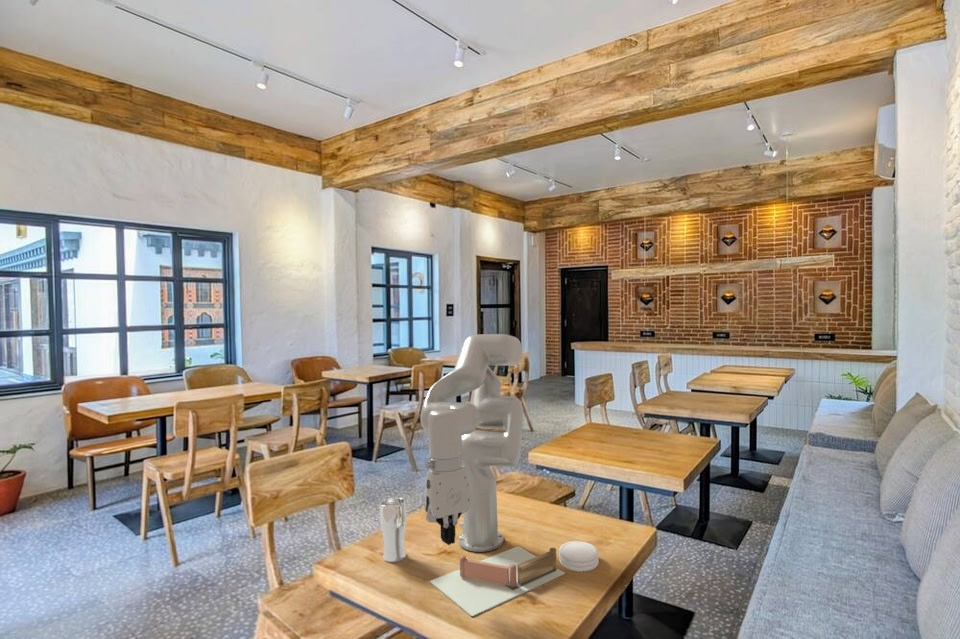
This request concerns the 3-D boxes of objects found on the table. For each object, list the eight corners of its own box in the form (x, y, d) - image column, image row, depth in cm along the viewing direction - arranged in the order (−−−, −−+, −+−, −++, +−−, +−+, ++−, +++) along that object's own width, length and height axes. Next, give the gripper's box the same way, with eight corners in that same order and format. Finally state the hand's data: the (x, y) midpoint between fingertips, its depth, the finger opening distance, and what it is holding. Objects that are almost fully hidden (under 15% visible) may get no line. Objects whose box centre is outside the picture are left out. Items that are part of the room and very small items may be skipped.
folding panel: (517, 584, 123) (517, 565, 123) (515, 587, 122) (514, 568, 121) (461, 573, 129) (461, 555, 129) (458, 576, 127) (458, 558, 127)
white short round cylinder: (552, 558, 137) (551, 545, 137) (584, 550, 141) (584, 537, 140) (572, 576, 128) (572, 562, 127) (606, 567, 131) (606, 553, 131)
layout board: (429, 582, 127) (429, 580, 127) (518, 547, 143) (518, 545, 143) (472, 617, 112) (472, 615, 112) (564, 573, 128) (564, 572, 128)
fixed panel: (517, 583, 124) (516, 562, 124) (553, 566, 131) (553, 547, 131) (521, 586, 123) (520, 565, 123) (558, 569, 130) (557, 549, 130)
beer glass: (412, 553, 142) (410, 498, 141) (398, 565, 135) (395, 508, 135) (391, 548, 144) (389, 495, 144) (376, 560, 138) (373, 505, 138)
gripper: (425, 473, 112) (428, 557, 112) (481, 460, 121) (484, 538, 121) (409, 465, 118) (411, 545, 118) (463, 453, 127) (465, 528, 127)
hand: (448, 541), depth 120 cm, fingers closed
